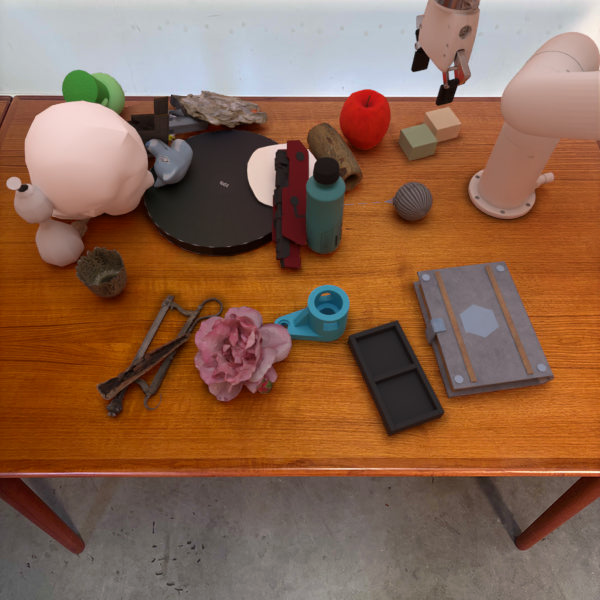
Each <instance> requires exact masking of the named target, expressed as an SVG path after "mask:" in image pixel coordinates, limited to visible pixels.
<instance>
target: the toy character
mask: <svg viewBox="0 0 600 600" xmlns="http://www.w3.org/2000/svg"><path fill="white" fill-rule="evenodd" d="M61 92H62V97H63V99H64V101H65V103H66V102H75V101H86V102H91V103H96V104H100V105H102V106H105V107H107V108H109V109H111V110H113V111H114V112H116V113H117V114H118V115H119V116H120V115H121V114H122V112H123V110H124V108H125V104H126V95H125V92H124V89H123V87H122V86H121V84H120V83H119V82H118V80H117V79H116V78H115V77H113V76H112V75H110V74H108V73H104V72H93V73H89V72H88V71H86V70H82V69H73V70H71V71H69V72H68V73H67V74H66V75H65V77H64V79H63V81H62V84H61Z"/></svg>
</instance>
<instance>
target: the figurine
mask: <svg viewBox="0 0 600 600" xmlns="http://www.w3.org/2000/svg"><path fill="white" fill-rule="evenodd" d="M6 187H7V188H8V189H9V190H12V191H15V193H14V199H13V206H14V209H15V212H16V214H17V215H18V216H20V218H22V219H23V220H24V221H25V222H27V223H28V224H39V226H38V228H37V231H36V234H35V245H36V247H37V250H38V254H39V255H40V257H41V260H43V262H45V263H47V264H50V265H54V266H57V267H65V266H68V265H70V264H73V263H75V262H77V261H78V260H79V258H80V257H81V256H82V255H81V254H82V253H83V252H84V250H85V244H84V242H83V239H82V238H81V237H80V234H79V232H78V230H77V229H76V228H75V227H73V226H71V224H69V223H66V222H63V221H59V220H55V219H52V218H51V217H53V216H52V214H53V209H54V206H53V204H52V203H51V201H50V200H49V199H48V198H47V197H46V196H45V195H44V194H43V193H42V192H41V190H39V189H38V188H37V187H36V186H34V185H32V184H31V183H22V181H21V179H20V178H19V177H17V176H11V177H9V178H8V179H7V180H6Z"/></svg>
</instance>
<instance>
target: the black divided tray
mask: <svg viewBox="0 0 600 600" xmlns="http://www.w3.org/2000/svg"><path fill="white" fill-rule="evenodd" d="M347 345H348V347H349V349H350V352H351V354H352V356H353V358H354V360H355V362H356V365H357V367H358V370H359V372H360V374H361V376H362V378H363V381H364V383H365V385H366V388H367V391H368V392H369V395H370V396H371V399H372V401H373V403H374V406H375V408H376V410H377V413H378V415H379V417H380V419H381V422H382V424H383V427H384V428H385V430H386V433H387V435H388V437H391V436H394V435H396V434H399V433H402V432H405V431H407V430H411V429H414V428H416V427H418V426H421V425H425V424H427V423H430V422H433V421H435V420H439V419H440V418H442V417H443V415H444V414H445V412H446V411H445V410H444V408H443V406H442V404H441V402H440V400H439V398H438V396H437V394H436V393H435V390H434V388H433V386H432V384H431V383H430V380H429V378H428V377H427V375H426V373H425V371H424V369H423V367H422V364H421V363H420V361H419V359H418V357H417V355H416V353H415V351H414V349H413V347H412V345H411V343H410V341H409V340H408V337H407V335H406V334H405V332H404V330H403V328H402V326H401V323H400V322H399V320H398V319H397V320H393V321H390V322H387V323H384V324H380V325H377V326H374V327H371V328H368V329H364V330H361V331H359V332H355V333H352V334H349V335H348V337H347Z"/></svg>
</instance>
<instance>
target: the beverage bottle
mask: <svg viewBox="0 0 600 600" xmlns="http://www.w3.org/2000/svg"><path fill="white" fill-rule="evenodd" d="M345 188H346V186H345V182H344V180H343V179H342V178H341V177H340V167H339V163H338V162H337V161H336V160H335V159H333V158H330V157H323V158H320V159H318V160H317V161H316V162H315V164H314V169H313V176H311V177H310V178H309V180H308V181H307V184H306V190H307V192H306V218H305V221H306V233H307V239H306V244H307V247H308V248H309V249H310V250H311V251H313V252H314V253H316V254H320V255H326V254H331V253H333V252H335V251H336V250H337V249H338V248H339V246H340V245H341V242H342V236H343V225H344V222H343V220H344V210H345V209H344V208H345V195H346V194H345V193H346V192H345Z"/></svg>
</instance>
